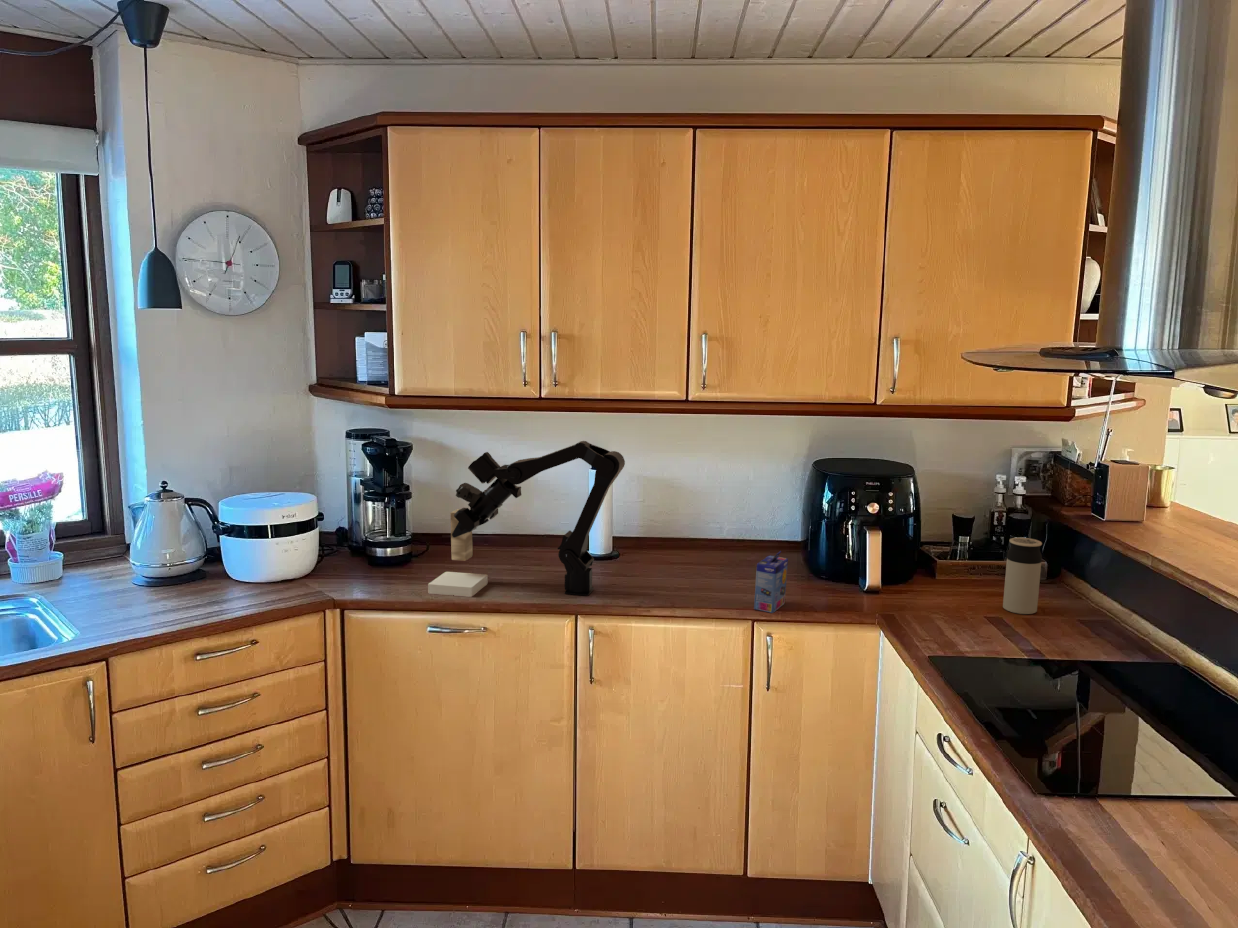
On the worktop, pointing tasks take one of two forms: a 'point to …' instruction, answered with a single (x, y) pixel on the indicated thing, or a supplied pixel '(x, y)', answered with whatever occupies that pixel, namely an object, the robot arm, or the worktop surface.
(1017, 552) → the travel mug
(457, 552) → the birch block
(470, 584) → the cream square slab
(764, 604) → the ink cartridge box
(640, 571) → the worktop surface
